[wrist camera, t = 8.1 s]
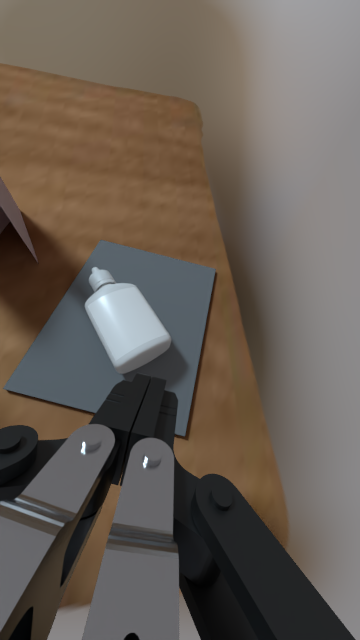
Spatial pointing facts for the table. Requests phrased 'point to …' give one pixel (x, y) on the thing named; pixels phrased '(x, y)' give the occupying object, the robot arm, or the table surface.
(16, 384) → the mat
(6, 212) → the greeting card
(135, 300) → the eye dropper bottle
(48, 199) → the table surface
